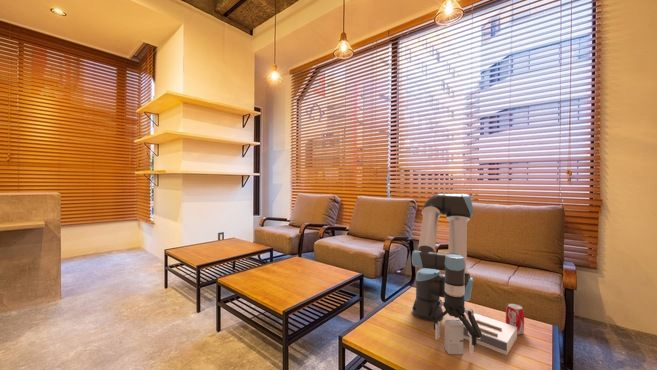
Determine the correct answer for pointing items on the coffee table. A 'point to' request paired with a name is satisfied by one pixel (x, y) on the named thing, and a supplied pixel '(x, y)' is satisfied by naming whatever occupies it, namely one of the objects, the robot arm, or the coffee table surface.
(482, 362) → the coffee table surface
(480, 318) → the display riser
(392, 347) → the coffee table surface
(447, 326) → the skincare box
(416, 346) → the coffee table surface
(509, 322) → the soda can
